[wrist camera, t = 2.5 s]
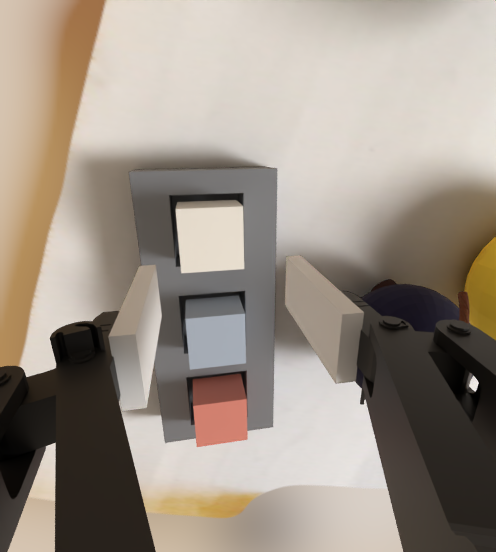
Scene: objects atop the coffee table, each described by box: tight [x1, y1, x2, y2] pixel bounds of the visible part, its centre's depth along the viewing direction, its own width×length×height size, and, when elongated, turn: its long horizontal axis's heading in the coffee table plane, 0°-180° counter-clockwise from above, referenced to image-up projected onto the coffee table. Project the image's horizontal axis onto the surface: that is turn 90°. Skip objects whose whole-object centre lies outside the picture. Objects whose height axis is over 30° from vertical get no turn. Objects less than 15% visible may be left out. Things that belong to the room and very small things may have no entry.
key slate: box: [185, 295, 246, 370], centre depth 30 cm, size 5×5×4 cm
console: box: [129, 167, 277, 443], centre depth 33 cm, size 28×12×4 cm, turn 1°
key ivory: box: [176, 200, 244, 273], centre depth 27 cm, size 5×5×4 cm
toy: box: [355, 279, 473, 388], centre depth 32 cm, size 12×14×15 cm
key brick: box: [193, 374, 247, 447], centre depth 33 cm, size 5×5×4 cm
